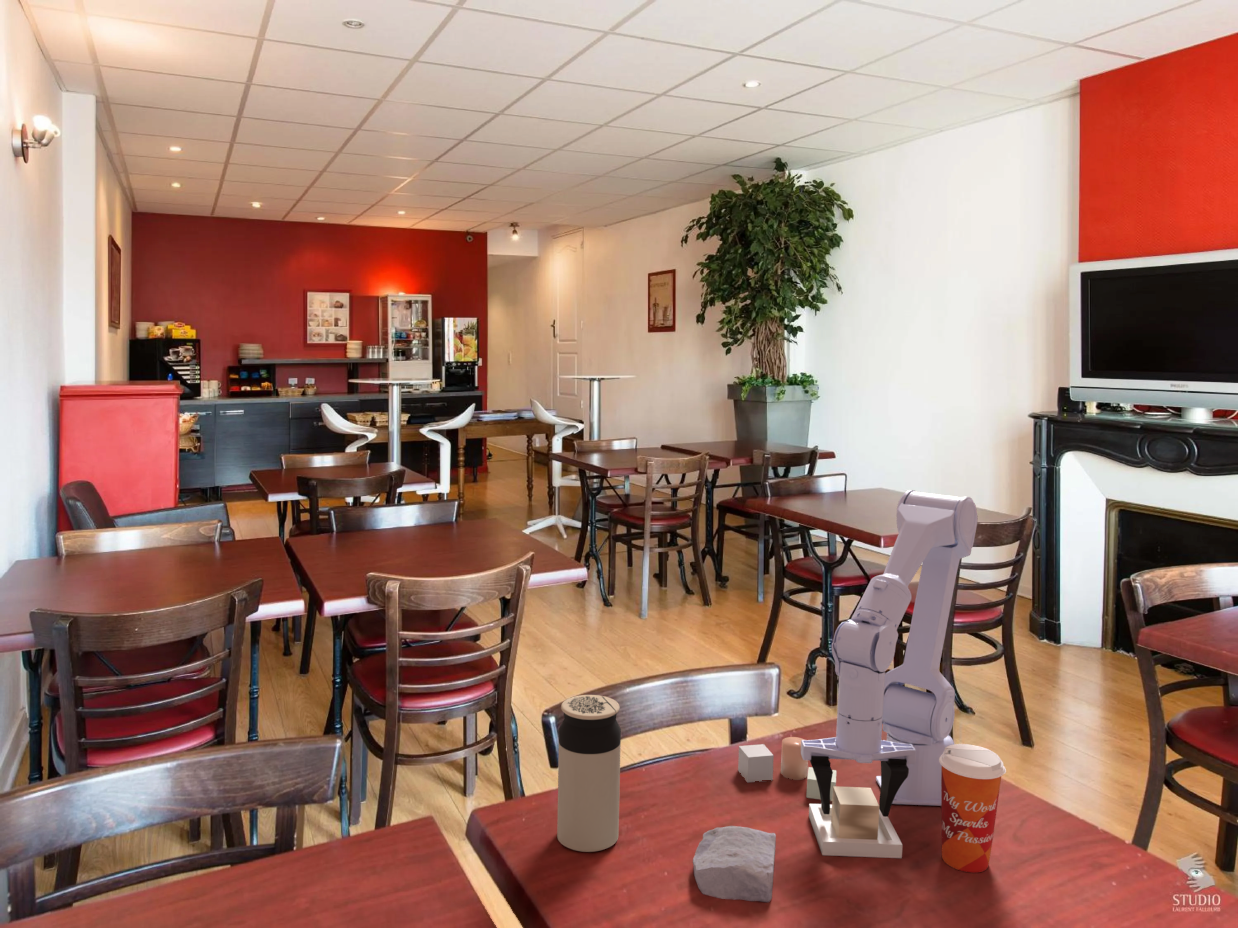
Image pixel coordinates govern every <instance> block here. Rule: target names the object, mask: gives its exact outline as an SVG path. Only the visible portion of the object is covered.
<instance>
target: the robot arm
mask: <svg viewBox="0 0 1238 928" xmlns="http://www.w3.org/2000/svg"><path fill="white" fill-rule="evenodd" d="M896 507H897V508H896V515H895V516H896V527H897V532H898V535H897V537H896V540H895V542H894V545H893V546H892V549H891V553H890V555H889V558H888V561H887V563H886V566H885V568H884V572H883V573H882V574H879V575H876V576H874V577H872V578H871V579H870V581H869V583H868V585H867V587H866V589H865V591H864V593H863V595H862V597H861V599H860V601H859V603H858V604H857V607H856V609H855V611H854V613H853V614H852V615H851V618H850V619H847V620H846V621H842V622H841V623H840V624H838V626H837V628H836V629H835V632H834V634H833V640H832V643H831V654H832V657H833V659H834V663H835V664H834V667H835V668H834V672H835V674H836V675H837V676H838V677H839V679H838V690H837V693H838V695H837V712H836V713H837V716H836V733H835V734H836V735H835V736H834V737H828V738H827V737H826V738H819V739H808V740H807V739H805V740H801V756H802V758H803V760H808V761H809V763H810V765H811V767H812V768H813V770H814V773H815V776H816V779H817V783H818V787H819V792H820V797H821V800H820V804H821V808H822V810H823V813H824V814H829V813H830V804H831V801H830V788H831V780H832V774H833V771H832V770H833V769H832V767H831V762H830V760H848V761H849V760H852V761H855V762H856V763H860V764H872V763H873V761H879V762H880V774H881V775H876V776H875V780H876V782H877V784H878V785H879V787H880V789H879V800H878V801H879V802H878V804H879V809H880V811H881V813H882V815H883V816H884V817H888V818H889V815H890V811H891V809H892V805H909V806H910V805H911V806H913V805H915V806H917V805H918V806H940V807H941V770H942V765H941V764H940V762H939V758H940V756H941V755H942V754H943V752H944V749H945V748H946V747H947V746H949V745H954V744H955V742H954V740H953V738H952V737H951V735H950V733H951V732H952V728H953V725H954V721H955V698H956V693H955V692H956V691H955V688H954V687H953V686H952V685H951V683H950V681H948V680H947V678H946V677H944V675H943V673H941V672H940V670H939V669H940V663H941V658H942V653H943V649H944V643H945V638H946V632H947V627H948V621H949V616H950V611H951V607H952V606H951V605H952V600H953V596H954V590H955V589H954V588H955V585H956V577H957V572H958V569H959V565H960V561H961V559H963V558H966V557H969V556H971V554H972V549H973V546H974V543H975V537H976V531H977V527H978V517H979V516H978V512H977V511H978V510H977V506H976V504H975V502H974V500H973V498H971V496H966V495H965V496H957V495H956V496H955V495H947V494H939V493H930V492H921V491H916V490H913V489H908V490H905V492H904V493H903V494H902V495H901V496H900V498H899V500H898V503H897V506H896ZM920 568H921V569H920ZM919 569H920V574H919V579H918V584H917V585H918V586H917V589H916V595H915V600H914V606H913V612H912V615H911V616H912V617H911V623H910V628H909V632H908V639H907V643H906V646H905V647H906V648H905V652H904V653H905V654H904V658H903V663H902V664H901V665H899V666H896V667H895V668H892V669H890V670H889V671H887V670H888V668H889V667H890V666H891V663H892V662H893V661H894V657H895V653H896V645H897V641H898V637H899V633H898V628H899V625H900V624H901V621H902V619H903V617H904V615H905V613H906V612H907V609H908V607H909V605H910V603H911V601H912V597H913V596H912V593H911V590H910V588H909V585H910V584H911V582H912V581H913V579H914V577H915V575H916V574H917V572H918V570H919ZM886 671H887V672H886ZM904 685H910V686H913V687H916V688H917V687H918V688H921V689H924V690H928V691H930V692H927V691H924V690H919V689H915V688H912V687H908V686H904ZM882 731H883V732H884V733H886V740H885V739H883V740H882V733H883V732H882Z"/></svg>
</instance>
